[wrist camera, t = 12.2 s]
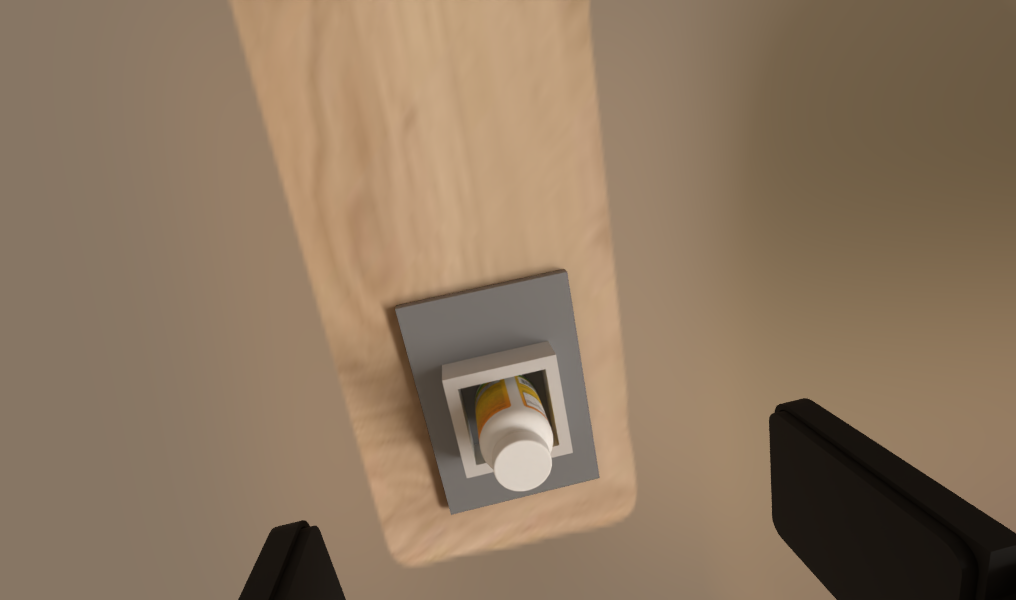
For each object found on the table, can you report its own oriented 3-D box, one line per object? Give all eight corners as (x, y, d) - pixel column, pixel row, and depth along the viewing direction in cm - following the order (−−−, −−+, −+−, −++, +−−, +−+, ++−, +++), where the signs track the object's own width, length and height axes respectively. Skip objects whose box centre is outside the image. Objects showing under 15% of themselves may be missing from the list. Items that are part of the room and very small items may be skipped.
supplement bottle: (472, 426, 42) (480, 502, 33) (475, 369, 40) (484, 431, 31) (534, 426, 43) (559, 500, 33) (538, 369, 41) (566, 430, 32)
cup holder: (396, 305, 39) (390, 321, 35) (564, 269, 40) (576, 280, 36) (450, 507, 45) (451, 539, 41) (596, 471, 46) (610, 499, 42)
